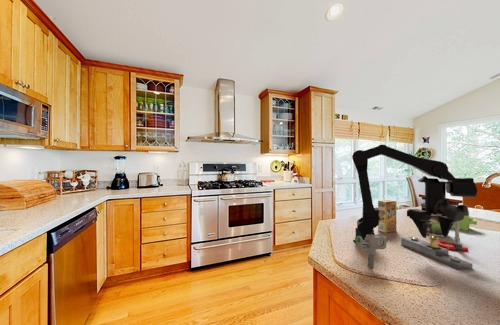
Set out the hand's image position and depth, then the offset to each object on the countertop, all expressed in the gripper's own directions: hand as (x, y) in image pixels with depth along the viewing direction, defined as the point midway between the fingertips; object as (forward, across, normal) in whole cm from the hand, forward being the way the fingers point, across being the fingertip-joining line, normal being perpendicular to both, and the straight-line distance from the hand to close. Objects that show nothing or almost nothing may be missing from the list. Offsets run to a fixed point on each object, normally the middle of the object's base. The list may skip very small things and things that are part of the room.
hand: (434, 237), depth 76 cm
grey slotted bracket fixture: (+7, 0, 0) cm, 7 cm away
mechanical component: (+7, -30, -4) cm, 31 cm away
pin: (+7, 0, 0) cm, 7 cm away
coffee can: (+7, +27, +22) cm, 35 cm away
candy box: (+7, +6, +28) cm, 29 cm away
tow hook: (+7, +16, +7) cm, 19 cm away
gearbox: (+7, +49, +30) cm, 58 cm away
